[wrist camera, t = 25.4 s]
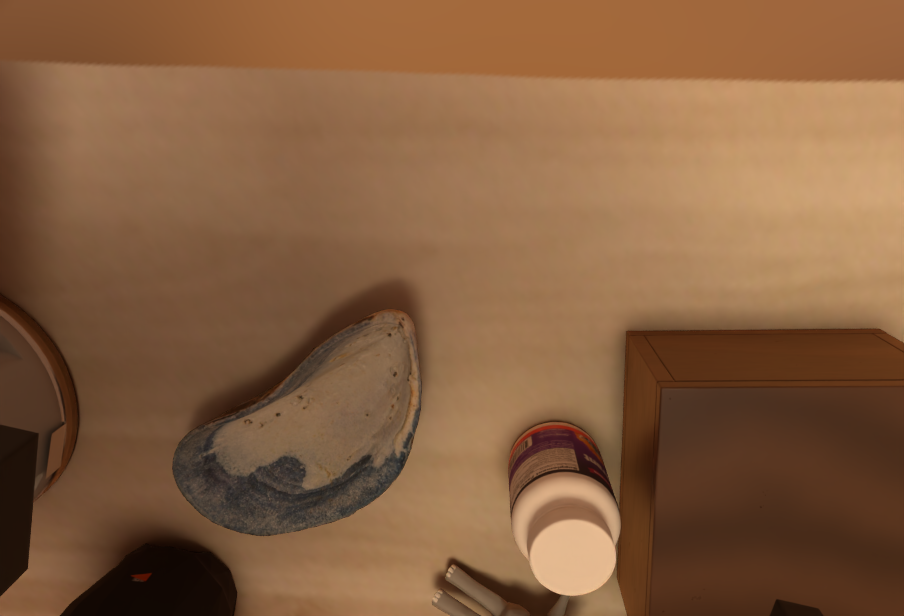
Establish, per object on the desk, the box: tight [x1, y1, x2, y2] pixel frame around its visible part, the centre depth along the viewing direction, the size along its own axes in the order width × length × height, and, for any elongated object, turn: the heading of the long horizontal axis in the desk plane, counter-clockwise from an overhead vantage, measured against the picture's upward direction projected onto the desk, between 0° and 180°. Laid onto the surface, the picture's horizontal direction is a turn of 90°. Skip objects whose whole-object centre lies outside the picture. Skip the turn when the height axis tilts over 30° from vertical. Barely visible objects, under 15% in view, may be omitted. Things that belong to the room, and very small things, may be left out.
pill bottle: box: [508, 422, 621, 596], centre depth 39 cm, size 5×5×10 cm
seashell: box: [172, 309, 422, 536], centre depth 41 cm, size 15×12×5 cm
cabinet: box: [617, 329, 904, 616], centre depth 39 cm, size 16×14×9 cm
